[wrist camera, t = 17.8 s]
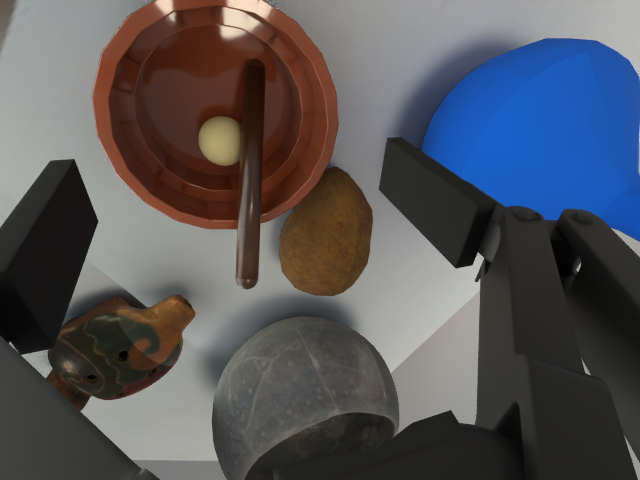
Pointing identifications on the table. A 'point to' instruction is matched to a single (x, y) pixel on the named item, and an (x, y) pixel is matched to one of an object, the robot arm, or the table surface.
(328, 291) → the potato
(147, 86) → the mixing bowl
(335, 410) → the bowl
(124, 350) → the ocarina
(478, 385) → the robot arm
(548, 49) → the vase
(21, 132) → the table surface
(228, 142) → the dough ball
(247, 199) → the stick
